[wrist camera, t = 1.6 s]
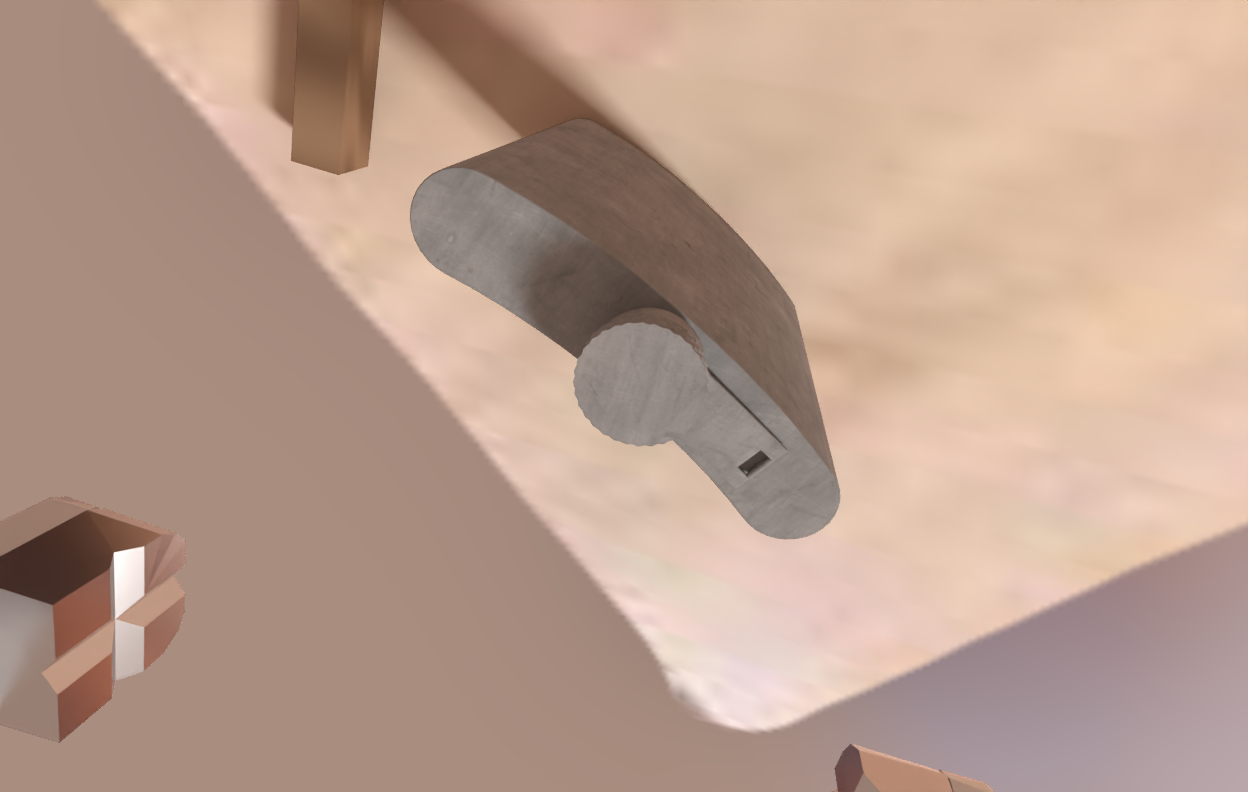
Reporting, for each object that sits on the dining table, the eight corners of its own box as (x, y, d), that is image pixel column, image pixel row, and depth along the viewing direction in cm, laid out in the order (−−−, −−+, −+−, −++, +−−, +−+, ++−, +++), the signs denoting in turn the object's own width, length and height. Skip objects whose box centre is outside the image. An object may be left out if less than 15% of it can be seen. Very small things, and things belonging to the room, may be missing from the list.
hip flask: (538, 155, 36) (346, 250, 18) (588, 88, 34) (431, 122, 17) (765, 356, 39) (792, 609, 21) (821, 303, 37) (902, 530, 19)
